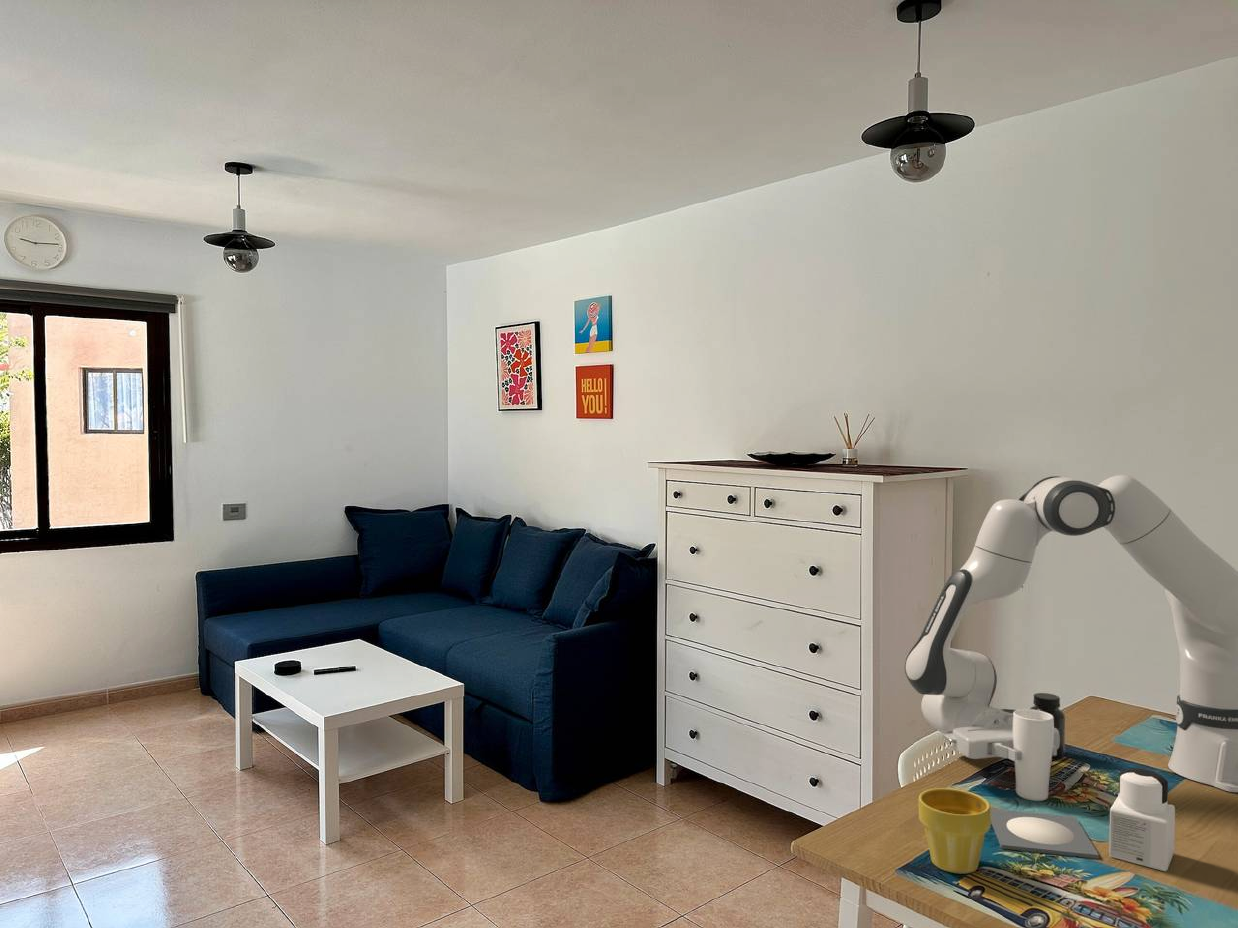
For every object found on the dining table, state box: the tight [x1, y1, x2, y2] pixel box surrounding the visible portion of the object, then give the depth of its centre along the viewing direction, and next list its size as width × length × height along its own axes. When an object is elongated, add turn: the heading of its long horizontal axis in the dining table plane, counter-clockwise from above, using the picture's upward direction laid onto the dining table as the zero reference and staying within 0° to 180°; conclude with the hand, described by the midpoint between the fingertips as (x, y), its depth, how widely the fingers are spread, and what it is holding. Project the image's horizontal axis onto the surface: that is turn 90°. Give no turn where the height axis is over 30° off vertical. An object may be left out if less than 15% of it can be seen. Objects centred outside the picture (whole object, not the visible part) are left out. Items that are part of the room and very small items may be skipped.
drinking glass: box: [1013, 708, 1054, 802], centre depth 158 cm, size 7×7×15 cm
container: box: [1108, 767, 1176, 872], centre depth 136 cm, size 8×8×13 cm
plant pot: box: [918, 787, 992, 875], centre depth 134 cm, size 10×10×10 cm
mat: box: [990, 808, 1100, 860], centre depth 144 cm, size 14×14×1 cm
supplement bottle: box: [1029, 692, 1066, 760], centre depth 180 cm, size 7×7×12 cm
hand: (1036, 754), depth 158 cm, fingers closed on drinking glass, 6 cm apart
